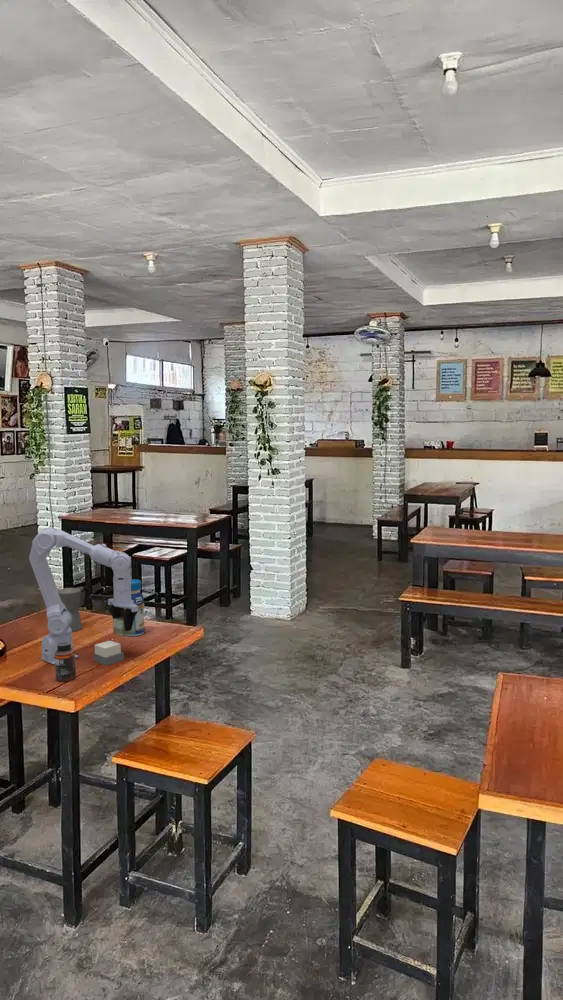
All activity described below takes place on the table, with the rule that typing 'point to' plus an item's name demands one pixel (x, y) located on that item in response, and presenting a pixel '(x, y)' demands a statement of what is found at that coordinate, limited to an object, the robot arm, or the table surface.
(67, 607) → the coffeepot
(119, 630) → the sage block
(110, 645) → the tower top
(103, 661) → the tower base
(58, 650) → the supplement bottle
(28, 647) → the table surface
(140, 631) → the beverage bottle
